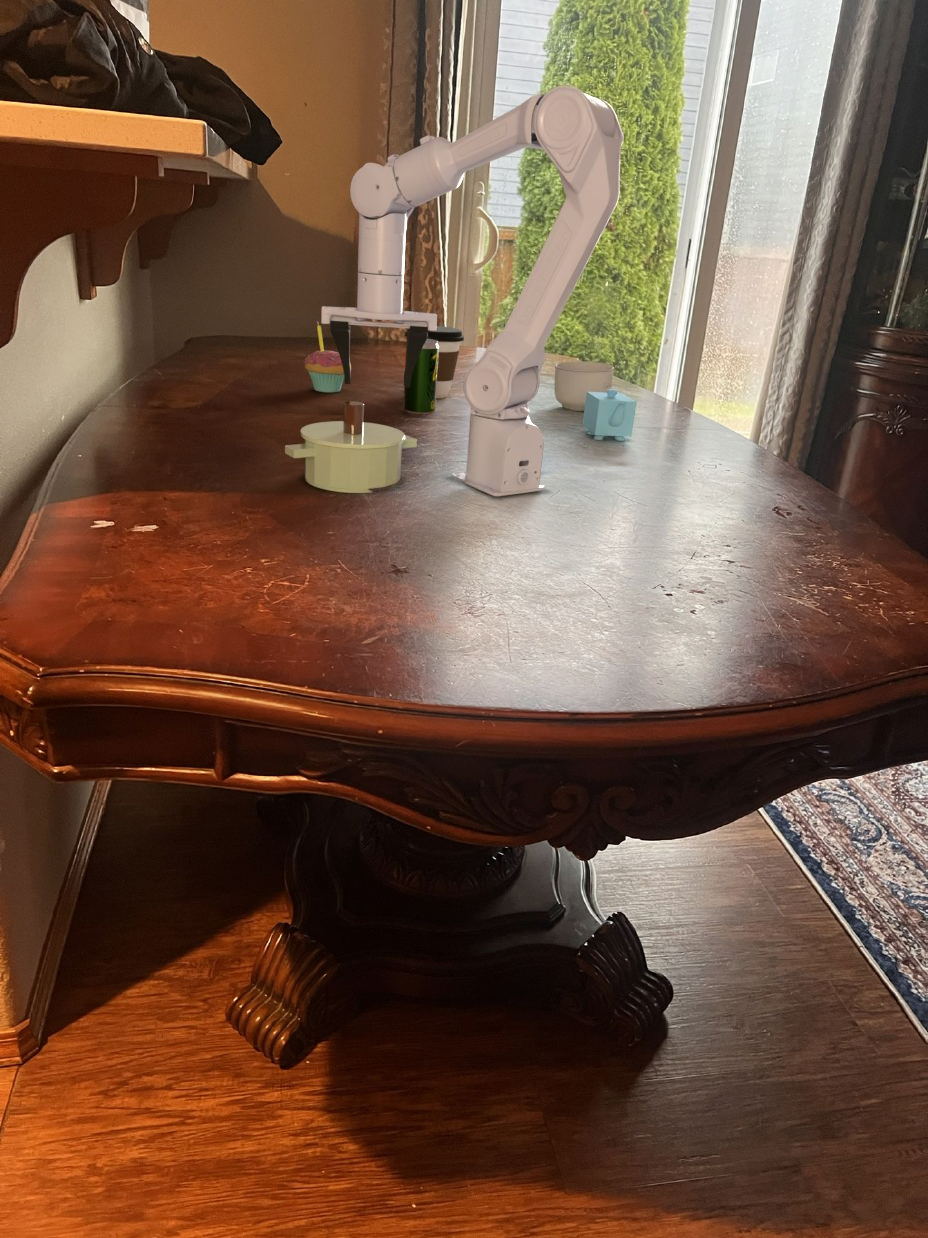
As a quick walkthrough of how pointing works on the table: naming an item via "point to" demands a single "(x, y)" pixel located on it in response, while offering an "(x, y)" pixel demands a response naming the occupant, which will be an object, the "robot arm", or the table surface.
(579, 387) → the teacup
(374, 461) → the pale green cooking pot
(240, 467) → the table surface
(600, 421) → the teapot
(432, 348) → the beer can
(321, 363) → the cupcake
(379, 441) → the pale green pot lid
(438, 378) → the coffee cup
